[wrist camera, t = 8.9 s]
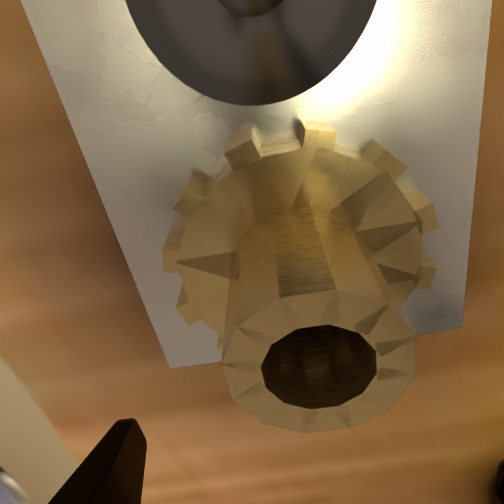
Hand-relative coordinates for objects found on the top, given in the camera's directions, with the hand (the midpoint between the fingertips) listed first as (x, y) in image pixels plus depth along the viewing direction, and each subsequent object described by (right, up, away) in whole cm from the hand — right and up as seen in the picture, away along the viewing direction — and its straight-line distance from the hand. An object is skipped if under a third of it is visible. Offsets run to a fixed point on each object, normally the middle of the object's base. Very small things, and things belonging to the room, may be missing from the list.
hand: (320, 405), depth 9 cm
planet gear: (0, +4, +7) cm, 8 cm away
